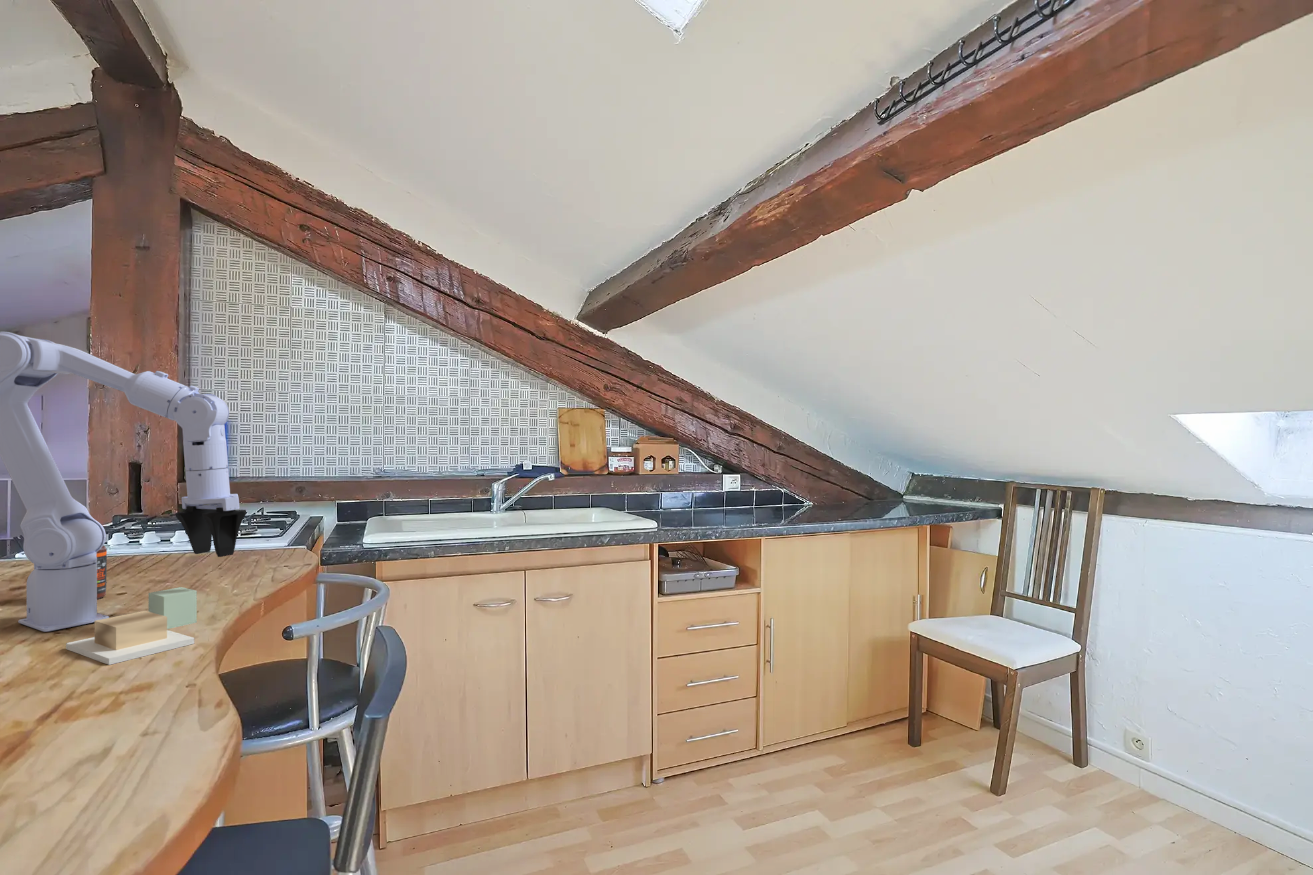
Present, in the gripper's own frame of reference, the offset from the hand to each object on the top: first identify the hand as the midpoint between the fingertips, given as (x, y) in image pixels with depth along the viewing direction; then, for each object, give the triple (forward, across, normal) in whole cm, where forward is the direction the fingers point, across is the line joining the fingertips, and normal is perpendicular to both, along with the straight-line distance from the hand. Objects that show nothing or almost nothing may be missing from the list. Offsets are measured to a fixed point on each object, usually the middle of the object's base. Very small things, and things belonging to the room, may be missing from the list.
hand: (213, 554), depth 109 cm
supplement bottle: (+8, +30, +8) cm, 32 cm away
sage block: (+10, +1, +6) cm, 11 cm away
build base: (+9, -7, +14) cm, 18 cm away
